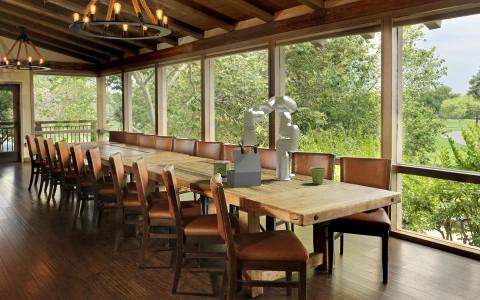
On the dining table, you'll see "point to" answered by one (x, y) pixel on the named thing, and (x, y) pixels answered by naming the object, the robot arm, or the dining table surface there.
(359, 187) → the dining table surface
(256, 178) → the slate box
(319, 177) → the plant pot
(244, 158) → the lid flap
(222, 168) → the tea box
